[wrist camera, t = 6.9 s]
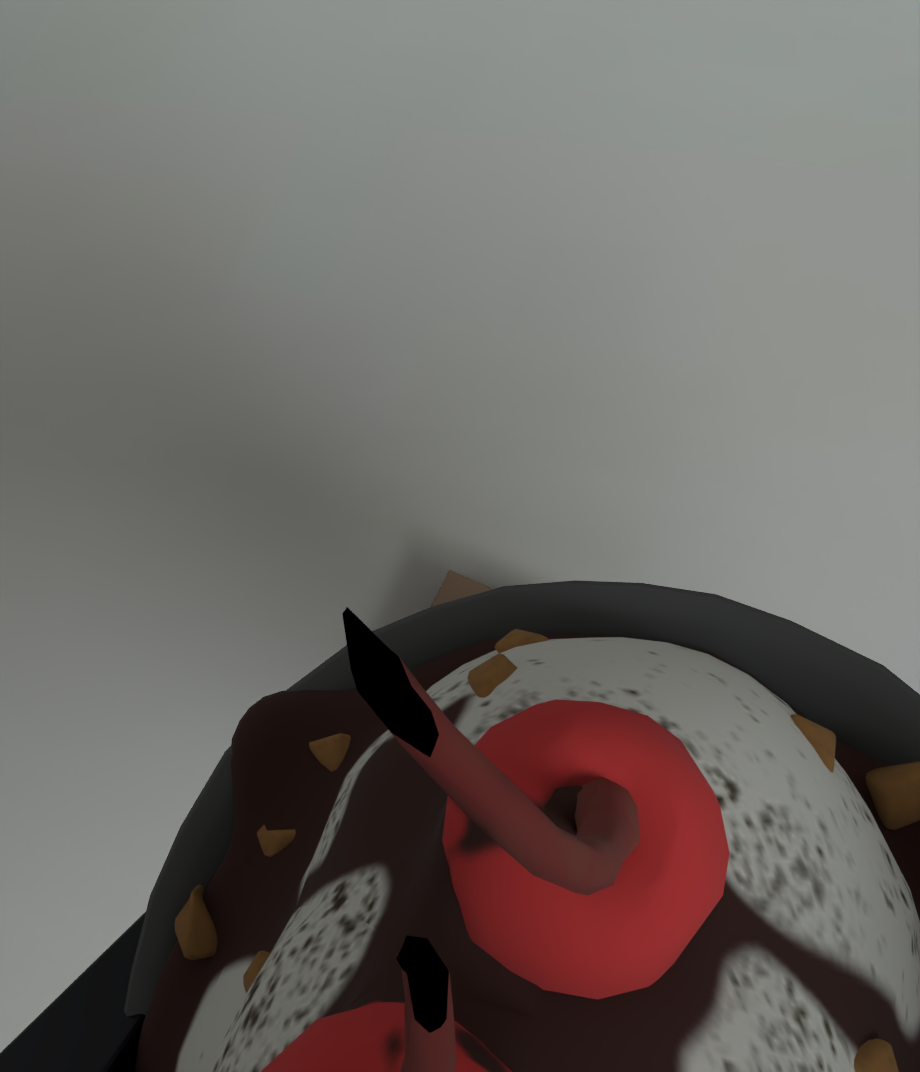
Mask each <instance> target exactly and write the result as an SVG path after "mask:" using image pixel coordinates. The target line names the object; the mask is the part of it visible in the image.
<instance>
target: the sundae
mask: <svg viewBox="0 0 920 1072" xmlns="http://www.w3.org/2000/svg"><path fill="white" fill-rule="evenodd" d="M343 620H344V627H345V634H346V640H347V645H346V646H345V647H344V648H342V649H341V650H340V651H338V652H337V653H336V654H334V655H333V656H332V657H330V658H329V659H328V660H326V661H325V662H324V663H322V664H321V665H320V666H318V667H317V668H316V669H314V670H313V671H312V672H310V673H309V674H308V675H306V676H305V677H304V678H302V679H301V680H300V681H298V682H297V683H296V684H294V685H293V686H292V687H290V688H289V689H287V690H286V691H281V692H278V693H275V694H272V695H268V696H265V697H263V698H262V699H261V700H259V701H258V702H257V703H255V704H254V705H253V706H251V707H250V708H249V709H248V710H247V712H246V713H245V714H244V716H243V717H242V718H241V720H240V721H239V724H238V726H237V728H236V731H235V733H234V735H233V738H232V744H231V746H230V747H229V748H228V749H227V750H226V751H225V753H224V755H223V756H222V758H221V760H220V761H219V763H218V765H217V766H216V768H215V770H214V771H213V773H212V775H211V776H210V778H209V780H208V781H207V783H206V785H205V787H204V788H203V790H202V792H201V793H200V795H199V797H198V798H197V800H196V802H195V803H194V805H193V807H192V808H191V810H190V812H189V813H188V815H187V817H186V819H185V820H184V822H183V824H182V825H181V827H180V829H179V831H178V834H177V836H176V838H175V840H174V843H173V845H172V847H171V850H170V852H169V854H168V856H167V859H166V861H165V863H164V865H163V868H162V870H161V872H160V875H159V877H158V879H157V881H156V884H155V886H154V888H153V891H152V893H151V895H150V899H149V903H148V907H147V910H146V914H145V918H144V922H143V926H142V930H141V934H140V938H139V942H138V946H137V950H136V954H135V958H134V962H133V966H132V970H131V975H130V980H129V985H128V991H127V996H126V1002H125V1007H124V1012H125V1014H126V1016H127V1017H128V1016H132V1015H136V1014H144V1015H146V1016H145V1019H144V1022H143V1025H142V1029H141V1034H140V1039H139V1043H138V1050H137V1057H136V1064H135V1071H134V1072H920V695H919V694H918V693H917V692H916V691H914V690H913V689H912V688H911V687H909V686H908V685H907V684H906V683H905V682H903V681H902V680H901V679H900V678H898V677H897V676H896V675H895V674H893V673H892V672H891V671H890V670H888V669H887V668H886V667H885V666H883V665H881V664H879V663H877V662H875V661H873V660H871V659H869V658H867V657H865V656H863V655H861V654H859V653H856V652H854V651H852V650H850V649H848V648H846V647H844V646H842V645H840V644H838V643H836V642H834V641H832V640H830V639H828V638H825V637H823V636H821V635H819V634H817V633H815V632H813V631H811V630H809V629H807V628H805V627H803V626H801V625H799V624H797V623H794V622H792V621H790V620H787V619H784V618H782V617H779V616H776V615H773V614H770V613H767V612H764V611H762V610H759V609H756V608H753V607H750V606H747V605H744V604H742V603H739V602H736V601H733V600H730V599H727V598H724V597H722V596H719V595H716V594H709V593H703V592H696V591H690V590H683V589H677V588H670V587H664V586H657V585H651V584H644V583H624V582H596V581H566V582H553V583H541V584H528V585H516V586H504V587H500V588H496V589H493V590H489V591H486V592H482V593H478V594H475V595H471V596H468V597H464V598H460V599H457V600H453V601H450V602H446V603H442V604H439V605H435V606H433V607H430V608H428V609H426V610H423V611H421V612H418V613H416V614H414V615H411V616H409V617H406V618H404V619H401V620H399V621H397V622H394V623H392V624H389V625H387V626H385V627H382V628H380V629H377V630H375V631H371V630H370V629H369V628H368V627H367V626H366V625H365V624H364V623H363V622H362V621H361V620H360V619H359V618H358V617H357V616H356V615H355V614H354V613H352V612H351V611H350V610H349V609H348V608H346V610H345V611H344V612H343Z"/></svg>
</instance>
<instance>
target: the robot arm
mask: <svg viewBox="0 0 920 1072" xmlns="http://www.w3.org/2000/svg"><path fill="white" fill-rule="evenodd" d="M145 914H146V912H145V913H144V914H143V915H142V916H141V917H140V918H139V919H138V920H137V921H136V922H135V923H134V924H133V925H132V926H130V927H129V928H128V929H127V930H126V931H125V932H124V933H123V934H122V935H121V936H120V937H119V938H118V939H117V940H116V941H115V942H114V943H113V944H112V945H111V946H110V947H109V948H108V949H107V950H106V951H105V952H104V953H103V954H102V955H101V956H100V957H99V958H98V959H97V960H96V961H95V962H93V963H92V964H91V965H90V966H89V967H88V968H87V969H86V970H85V971H84V972H83V973H82V974H81V975H80V976H79V977H78V978H77V979H76V980H75V981H74V982H73V983H72V984H71V985H70V986H69V987H68V988H67V989H66V990H65V991H64V992H63V993H62V994H61V995H60V996H59V997H57V998H56V999H55V1000H54V1001H53V1002H52V1003H51V1004H50V1005H49V1006H48V1007H47V1008H46V1009H45V1010H44V1011H43V1012H42V1013H41V1014H40V1015H39V1016H38V1017H37V1018H36V1019H35V1020H34V1021H33V1022H32V1023H31V1024H30V1025H29V1026H28V1027H27V1028H26V1029H25V1030H24V1031H23V1032H22V1033H20V1034H19V1035H18V1036H17V1037H16V1038H15V1039H14V1040H13V1041H12V1042H11V1043H10V1044H9V1045H8V1046H7V1047H6V1048H5V1049H4V1050H3V1051H2V1052H1V1053H0V1072H134V1071H135V1064H136V1057H137V1050H138V1043H139V1039H140V1034H141V1029H142V1025H143V1022H144V1019H145V1016H146V1015H144V1014H136V1015H132V1016H128V1017H127V1016H126V1014H125V1012H124V1007H125V1002H126V996H127V991H128V985H129V980H130V975H131V970H132V966H133V962H134V958H135V954H136V950H137V946H138V942H139V938H140V934H141V930H142V926H143V922H144V918H145Z"/></svg>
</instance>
